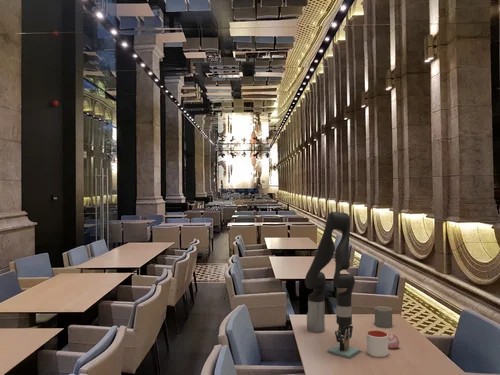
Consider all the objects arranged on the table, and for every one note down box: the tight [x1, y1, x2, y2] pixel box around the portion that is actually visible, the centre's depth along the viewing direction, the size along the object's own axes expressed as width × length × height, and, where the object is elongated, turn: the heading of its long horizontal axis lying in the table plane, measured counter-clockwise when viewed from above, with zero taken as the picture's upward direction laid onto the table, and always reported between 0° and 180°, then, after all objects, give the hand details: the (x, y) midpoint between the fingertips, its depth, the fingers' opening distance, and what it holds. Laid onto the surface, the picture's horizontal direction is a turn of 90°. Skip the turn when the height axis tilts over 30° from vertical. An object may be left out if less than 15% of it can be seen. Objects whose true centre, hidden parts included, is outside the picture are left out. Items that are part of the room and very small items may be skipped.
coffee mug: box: [374, 305, 393, 329], centre depth 245 cm, size 13×10×10 cm
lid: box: [328, 338, 361, 358], centre depth 202 cm, size 11×11×6 cm
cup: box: [366, 330, 389, 358], centre depth 200 cm, size 10×10×10 cm
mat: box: [326, 350, 363, 360], centre depth 202 cm, size 13×13×1 cm
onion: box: [387, 333, 400, 350], centre depth 208 cm, size 8×8×7 cm
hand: (344, 348), depth 202 cm, fingers closed on lid, 4 cm apart
